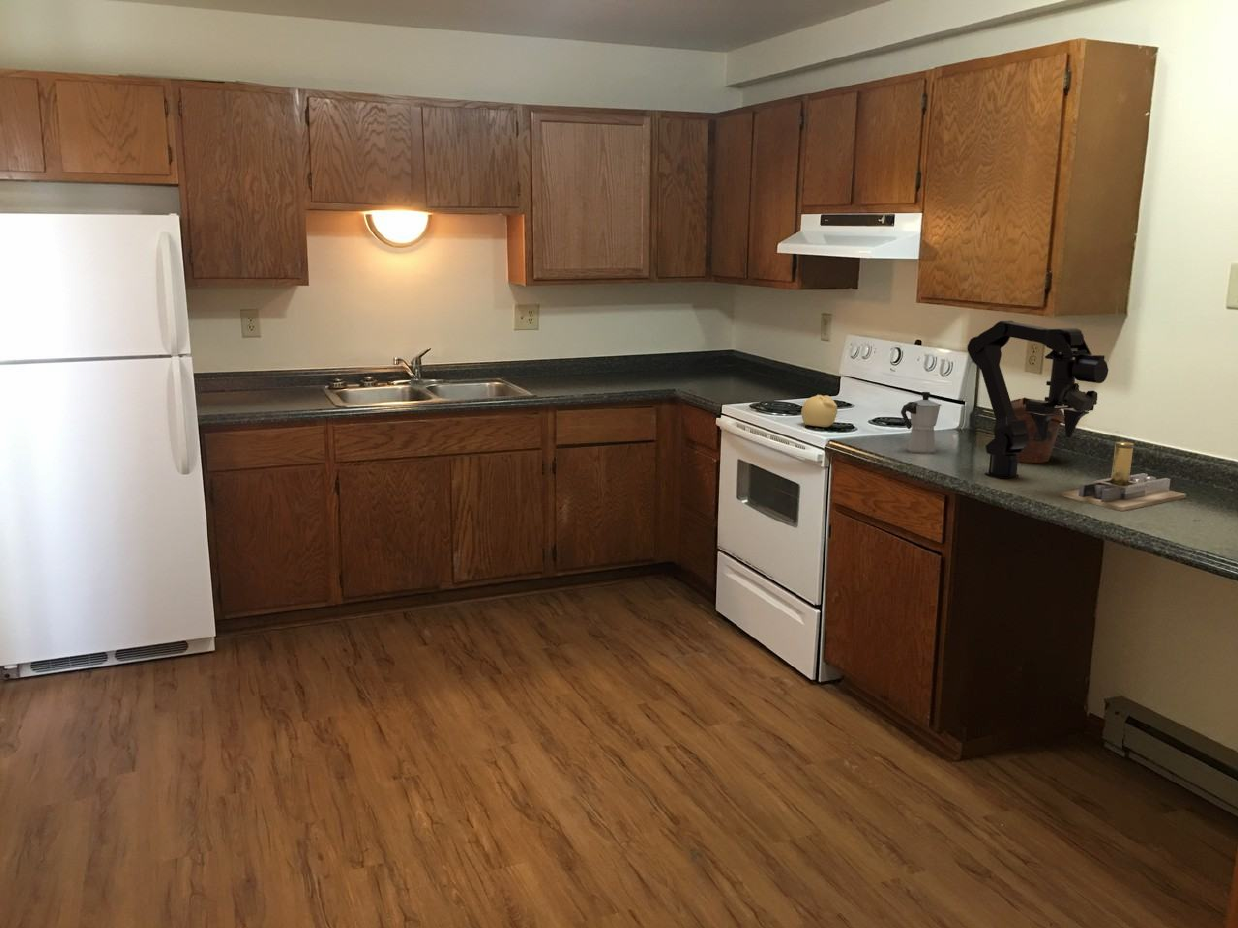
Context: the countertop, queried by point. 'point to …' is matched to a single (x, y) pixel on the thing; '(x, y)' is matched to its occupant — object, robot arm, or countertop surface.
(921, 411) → the coffee maker
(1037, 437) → the reddish brown pot
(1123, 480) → the pin
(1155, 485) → the grey slotted tray
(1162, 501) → the board
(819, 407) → the tan round lump
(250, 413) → the countertop surface
